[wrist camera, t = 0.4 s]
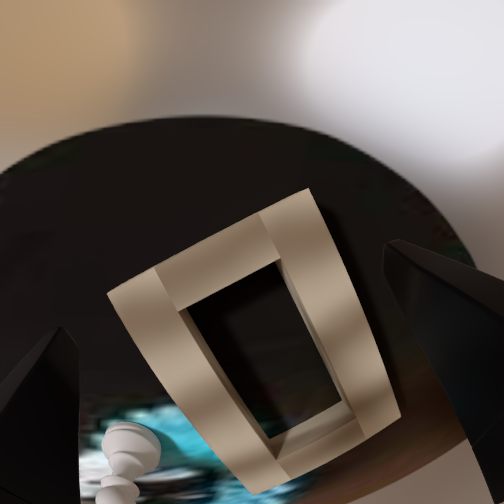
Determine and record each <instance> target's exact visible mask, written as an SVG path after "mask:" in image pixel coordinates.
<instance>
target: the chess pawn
mask: <svg viewBox="0 0 504 504" xmlns="http://www.w3.org/2000/svg"><path fill="white" fill-rule="evenodd" d="M102 450H103V453H104V455H105V456H106V458H107V459H108V462H109V465H110V467H111V469H112V470H113V473H112V475H107V476H105V477H103V478H102V480H101V486H102V489H100V490H99V491H98V493H97V495H96V504H136V502H135V499H136V498H137V497H138V496H139V489H138V487H137V486H136V485H135V484H134V483H133V481H134V479H135V478H138V477H141V476H142V475H143V474H144V473H148V472H150V471H152V470H154V469H155V468H156V467H157V466H158V464H159V462H160V456H161V444H160V441H159V440H158V438H157V436H156V435H155V434H154V433H153V432H152V431H151V430H149V429H148V428H146V427H144V426H142V425H140V424H137V423H133V422H118V423H115V424H113V425H111V426H110V427H109V428H108V429H107V431H106V433H105V436H104V437H103V440H102Z"/></svg>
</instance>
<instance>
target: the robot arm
mask: <svg viewBox="0 0 504 504" xmlns="http://www.w3.org/2000/svg"><path fill="white" fill-rule="evenodd" d="M383 273H384V277H385V279H386V281H387V283H388V285H389V287H390V289H391V291H392V293H393V295H394V297H395V299H396V302H397V304H398V306H399V308H400V310H401V312H402V315H403V317H404V319H405V321H406V323H407V324H408V326H409V328H410V330H411V331H412V333H413V335H414V337H415V338H416V340H417V342H418V343H419V345H420V347H421V349H422V350H423V352H424V354H425V356H426V357H427V359H428V361H429V363H430V365H431V367H432V368H433V370H434V372H435V374H436V376H437V378H438V379H439V381H440V383H441V385H442V387H443V389H444V391H445V393H446V395H447V397H448V399H449V401H450V403H451V405H452V407H453V409H454V411H455V413H456V415H457V417H458V419H459V421H460V423H461V425H462V427H463V429H464V431H465V434H466V436H467V438H468V440H469V442H470V445H471V446H472V450H473V452H474V454H475V457H476V459H477V461H478V464H479V466H480V468H481V470H482V473H483V476H484V478H485V481H486V483H487V486H488V488H489V491H490V494H491V496H492V499H493V502H494V504H499V503H502V502H504V281H503V280H501V279H498V278H496V277H494V276H491V275H489V274H487V273H484V272H482V271H479V270H477V269H475V268H472V267H470V266H467V265H465V264H462V263H460V262H457V261H455V260H452V259H450V258H447V257H445V256H442V255H439V254H437V253H434V252H432V251H429V250H426V249H424V248H421V247H418V246H416V245H413V244H410V243H407V242H405V241H402V240H394V241H390V242H387V243H386V244H385V245H384V249H383ZM79 415H80V350H79V347H78V345H77V344H76V343H75V341H74V340H73V339H72V337H71V336H70V335H69V333H68V332H67V331H66V330H65V329H64V328H63V327H58V328H53V329H51V330H49V331H48V332H47V334H46V335H45V336H44V337H43V338H42V339H41V340H40V341H39V342H38V343H37V344H36V345H35V346H34V347H33V348H32V349H31V351H30V352H29V353H28V354H27V355H26V356H25V357H24V358H23V359H22V360H21V362H20V363H19V364H18V365H17V366H16V367H15V368H14V369H13V371H12V372H11V373H10V374H9V375H8V376H7V377H6V379H5V380H4V381H3V382H2V383H1V384H0V504H81V501H80V485H79Z"/></svg>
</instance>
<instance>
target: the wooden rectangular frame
mask: <svg viewBox="0 0 504 504" xmlns="http://www.w3.org/2000/svg"><path fill="white" fill-rule="evenodd" d="M274 261H275V263H276V265H277V267H278V269H279V271H280V273H281V275H282V277H283V279H284V281H285V283H286V285H287V287H288V289H289V291H290V293H291V295H292V297H293V299H294V301H295V303H296V306H297V308H298V310H299V312H300V314H301V316H302V318H303V320H304V322H305V324H306V326H307V328H308V330H309V332H310V334H311V336H312V338H313V340H314V342H315V344H316V346H317V349H318V351H319V353H320V355H321V357H322V359H323V361H324V363H325V365H326V367H327V369H328V371H329V373H330V376H331V378H332V380H333V382H334V384H335V386H336V388H337V390H338V392H339V394H340V396H341V399H342V401H340V402H339V403H337V404H335V405H334V406H332V407H330V408H328V409H327V410H325V411H323V412H321V413H320V414H318V415H316V416H314V417H312V418H310V419H309V420H307V421H305V422H303V423H301V424H299V425H297V426H295V427H293V428H291V429H289V430H287V431H285V432H283V433H281V434H279V435H277V436H275V437H273V438H271V439H269V438H268V437H267V435H266V434H265V432H264V431H263V430H262V428H261V427H260V425H259V424H258V422H257V421H256V420H255V418H254V417H253V415H252V414H251V412H250V411H249V409H248V408H247V406H246V405H245V403H244V402H243V400H242V399H241V397H240V396H239V394H238V393H237V391H236V390H235V388H234V387H233V385H232V383H231V382H230V380H229V379H228V377H227V376H226V374H225V372H224V371H223V369H222V368H221V366H220V364H219V363H218V361H217V360H216V358H215V356H214V355H213V353H212V351H211V350H210V348H209V347H208V345H207V343H206V342H205V340H204V338H203V337H202V335H201V333H200V331H199V330H198V328H197V326H196V325H195V323H194V321H193V319H192V318H191V316H190V314H189V313H188V311H187V309H186V307H188V306H190V305H192V304H194V303H196V302H197V301H199V300H201V299H203V298H205V297H207V296H209V295H211V294H213V293H215V292H217V291H219V290H221V289H222V288H224V287H226V286H228V285H230V284H232V283H234V282H236V281H238V280H240V279H242V278H243V277H245V276H247V275H249V274H251V273H253V272H255V271H257V270H259V269H260V268H262V267H264V266H266V265H268V264H270V263H272V262H274ZM107 295H108V297H109V299H110V300H111V302H112V304H113V306H114V308H115V309H116V311H117V313H118V315H119V316H120V318H121V320H122V322H123V323H124V325H125V327H126V328H127V330H128V332H129V334H130V335H131V337H132V338H133V340H134V342H135V343H136V345H137V347H138V348H139V350H140V351H141V353H142V355H143V356H144V358H145V359H146V361H147V362H148V364H149V365H150V367H151V368H152V370H153V371H154V373H155V374H156V376H157V377H158V379H159V380H160V382H161V383H162V385H163V386H164V387H165V389H166V390H167V392H168V393H169V395H170V396H171V397H172V399H173V400H174V402H175V403H176V404H177V406H178V407H179V408H180V410H181V411H182V412H183V414H184V415H185V416H186V418H187V419H188V420H189V422H190V423H191V424H192V425H193V427H194V428H195V429H196V431H197V432H198V433H199V434H200V436H201V437H202V438H203V439H204V441H205V442H206V443H207V444H208V445H209V447H210V448H211V449H212V450H213V451H214V453H215V454H216V455H217V456H218V457H219V458H220V460H221V461H222V462H223V463H224V464H225V465H226V466H227V468H228V469H229V470H230V471H231V472H232V473H233V474H234V475H235V476H236V478H237V479H238V480H239V481H240V482H241V483H242V484H243V485H244V486H245V487H246V488H247V489H248V490H249V491H250V492H251V493H252V494H253V495H256V494H259V493H261V492H264V491H266V490H269V489H271V488H273V487H276V486H278V485H281V484H283V483H285V482H287V481H290V480H292V479H294V478H296V477H298V476H300V475H303V474H305V473H307V472H309V471H311V470H313V469H315V468H317V467H319V466H321V465H323V464H325V463H326V462H328V461H330V460H332V459H334V458H336V457H338V456H339V455H341V454H343V453H345V452H346V451H348V450H350V449H352V448H353V447H355V446H357V445H358V444H360V443H362V442H363V441H365V440H367V439H368V438H370V437H371V436H373V435H374V434H376V433H378V432H379V431H381V430H382V429H384V428H385V427H387V426H388V425H390V424H391V423H393V422H394V421H395V420H397V419H398V418H400V417H401V415H400V411H399V408H398V405H397V402H396V399H395V396H394V393H393V390H392V387H391V384H390V381H389V379H388V376H387V373H386V370H385V367H384V364H383V362H382V359H381V356H380V353H379V351H378V348H377V345H376V343H375V340H374V337H373V335H372V332H371V329H370V327H369V324H368V322H367V319H366V317H365V314H364V312H363V309H362V307H361V304H360V302H359V299H358V297H357V294H356V292H355V290H354V287H353V285H352V283H351V280H350V278H349V275H348V273H347V271H346V269H345V266H344V264H343V262H342V259H341V257H340V255H339V253H338V250H337V248H336V246H335V244H334V241H333V239H332V237H331V235H330V233H329V231H328V228H327V226H326V224H325V222H324V220H323V218H322V216H321V213H320V211H319V209H318V207H317V205H316V203H315V201H314V199H313V197H312V195H311V193H310V191H309V189H305V190H303V191H300V192H298V193H295V194H293V195H291V196H289V197H287V198H285V199H283V200H281V201H279V202H277V203H275V204H273V205H271V206H269V207H267V208H265V209H263V210H261V211H259V212H257V213H255V214H253V215H251V216H249V217H247V218H245V219H244V220H242V221H240V222H238V223H236V224H234V225H232V226H230V227H228V228H226V229H224V230H222V231H220V232H218V233H216V234H214V235H212V236H211V237H209V238H207V239H205V240H203V241H201V242H199V243H197V244H195V245H193V246H191V247H190V248H188V249H186V250H184V251H182V252H180V253H178V254H176V255H174V256H173V257H171V258H169V259H167V260H165V261H163V262H161V263H160V264H158V265H156V266H154V267H152V268H150V269H148V270H147V271H145V272H143V273H141V274H139V275H138V276H136V277H134V278H132V279H130V280H128V281H127V282H125V283H123V284H121V285H119V286H118V287H116V288H115V289H113V290H112V291H110V292H108V293H107Z"/></svg>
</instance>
